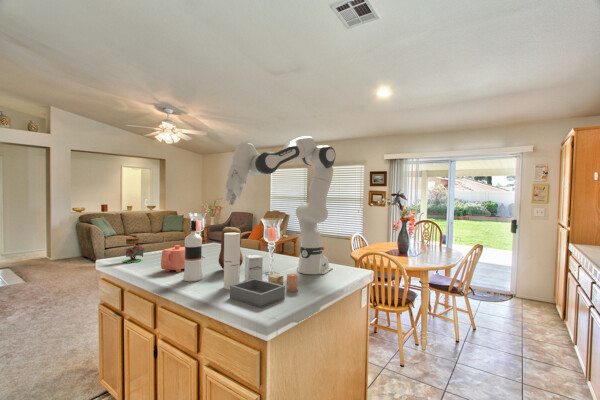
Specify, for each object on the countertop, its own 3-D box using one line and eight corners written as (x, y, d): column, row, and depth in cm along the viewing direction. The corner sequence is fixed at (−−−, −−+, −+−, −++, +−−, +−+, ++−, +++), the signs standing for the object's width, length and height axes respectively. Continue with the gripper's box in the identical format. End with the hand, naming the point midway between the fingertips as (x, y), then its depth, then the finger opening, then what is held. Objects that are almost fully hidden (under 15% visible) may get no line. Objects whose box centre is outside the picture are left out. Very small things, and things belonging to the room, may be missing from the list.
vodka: (179, 281, 143) (179, 220, 143) (189, 276, 152) (190, 219, 152) (196, 282, 141) (197, 221, 141) (206, 277, 151) (206, 220, 150)
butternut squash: (246, 268, 171) (247, 226, 171) (236, 274, 158) (237, 228, 158) (225, 267, 174) (225, 225, 174) (213, 272, 161) (214, 227, 161)
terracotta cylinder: (291, 287, 134) (291, 272, 134) (299, 290, 131) (300, 274, 131) (284, 290, 130) (284, 275, 130) (293, 292, 127) (293, 277, 127)
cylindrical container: (226, 284, 139) (226, 232, 138) (241, 284, 138) (241, 232, 138) (221, 289, 131) (222, 234, 131) (237, 289, 131) (237, 234, 131)
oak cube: (275, 284, 140) (275, 273, 140) (283, 286, 137) (283, 275, 137) (268, 286, 136) (268, 276, 136) (276, 288, 133) (276, 277, 133)
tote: (254, 289, 131) (254, 278, 131) (284, 298, 121) (284, 286, 121) (229, 297, 120) (230, 285, 120) (260, 308, 109) (261, 294, 109)
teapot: (179, 264, 179) (179, 241, 179) (198, 266, 176) (198, 242, 176) (154, 273, 157) (154, 247, 157) (175, 275, 154) (175, 248, 154)
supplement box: (247, 284, 140) (248, 258, 140) (244, 280, 147) (244, 255, 146) (262, 282, 143) (262, 257, 143) (258, 278, 149) (258, 254, 149)
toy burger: (142, 262, 183) (142, 239, 183) (119, 263, 180) (120, 239, 179) (146, 259, 195) (146, 236, 195) (124, 260, 191) (125, 237, 191)
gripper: (241, 169, 125) (233, 200, 122) (246, 182, 145) (239, 208, 142) (227, 166, 125) (218, 196, 122) (234, 179, 145) (226, 205, 142)
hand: (229, 203), depth 132 cm, fingers open, 8 cm apart
